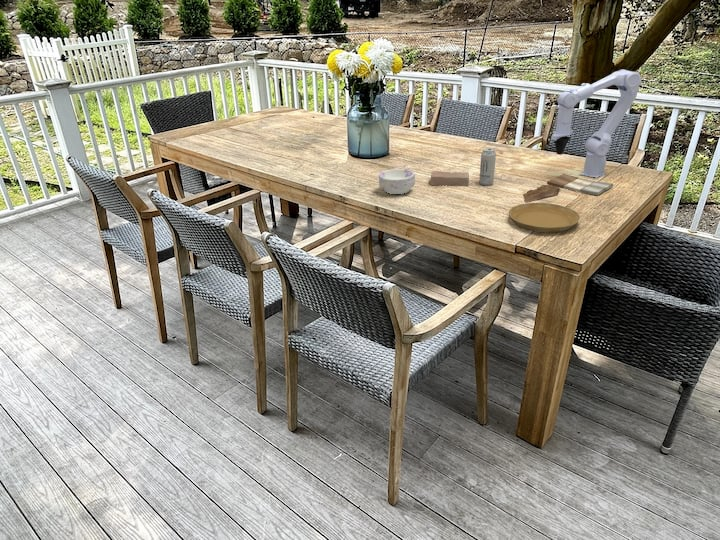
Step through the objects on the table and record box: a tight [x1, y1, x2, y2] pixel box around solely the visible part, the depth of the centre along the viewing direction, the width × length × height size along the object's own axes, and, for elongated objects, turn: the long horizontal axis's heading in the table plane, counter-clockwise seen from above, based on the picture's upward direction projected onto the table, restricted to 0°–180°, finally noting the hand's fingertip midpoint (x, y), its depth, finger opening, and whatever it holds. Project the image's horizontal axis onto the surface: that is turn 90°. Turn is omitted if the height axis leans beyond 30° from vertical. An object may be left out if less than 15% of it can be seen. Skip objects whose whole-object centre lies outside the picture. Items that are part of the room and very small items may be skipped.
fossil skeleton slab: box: [522, 184, 561, 204], centre depth 210 cm, size 26×11×1 cm, turn 129°
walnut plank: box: [546, 173, 579, 189], centre depth 220 cm, size 14×7×1 cm, turn 133°
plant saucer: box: [508, 202, 581, 233], centre depth 184 cm, size 24×24×3 cm
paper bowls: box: [378, 168, 416, 195], centre depth 217 cm, size 15×15×8 cm
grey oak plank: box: [579, 180, 614, 196], centre depth 211 cm, size 14×7×1 cm, turn 133°
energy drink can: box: [478, 147, 497, 187], centre depth 220 cm, size 6×6×15 cm
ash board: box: [562, 177, 596, 193], centre depth 216 cm, size 14×7×1 cm, turn 133°
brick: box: [430, 170, 470, 187], centre depth 225 cm, size 16×8×5 cm, turn 80°
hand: (559, 154), depth 222 cm, fingers closed
